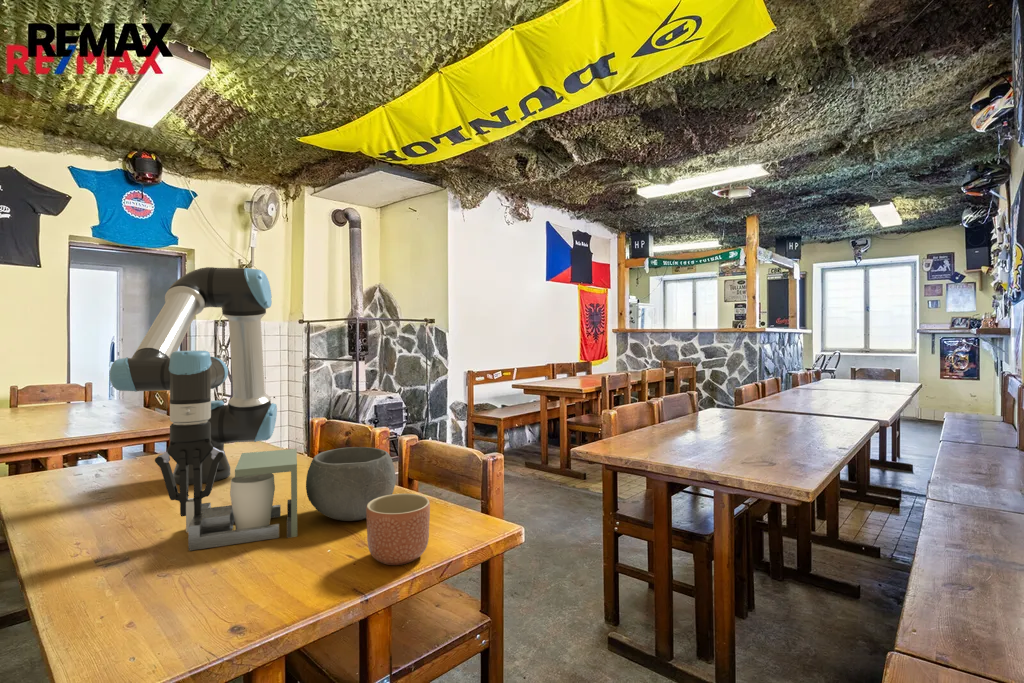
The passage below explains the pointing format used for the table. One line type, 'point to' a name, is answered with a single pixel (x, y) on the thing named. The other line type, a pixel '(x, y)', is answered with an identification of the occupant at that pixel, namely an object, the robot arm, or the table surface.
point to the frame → (225, 528)
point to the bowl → (349, 481)
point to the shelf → (274, 464)
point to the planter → (398, 527)
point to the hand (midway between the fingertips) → (191, 529)
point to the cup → (252, 500)
